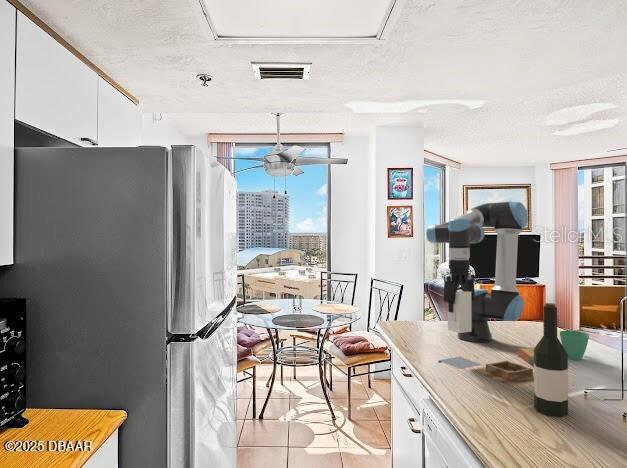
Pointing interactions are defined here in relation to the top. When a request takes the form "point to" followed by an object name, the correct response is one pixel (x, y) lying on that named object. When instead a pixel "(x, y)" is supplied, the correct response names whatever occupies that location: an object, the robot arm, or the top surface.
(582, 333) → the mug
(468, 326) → the cream block
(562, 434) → the top surface
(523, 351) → the carton
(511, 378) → the pocket tray
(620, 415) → the top surface
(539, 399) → the wine bottle
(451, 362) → the slate mat
